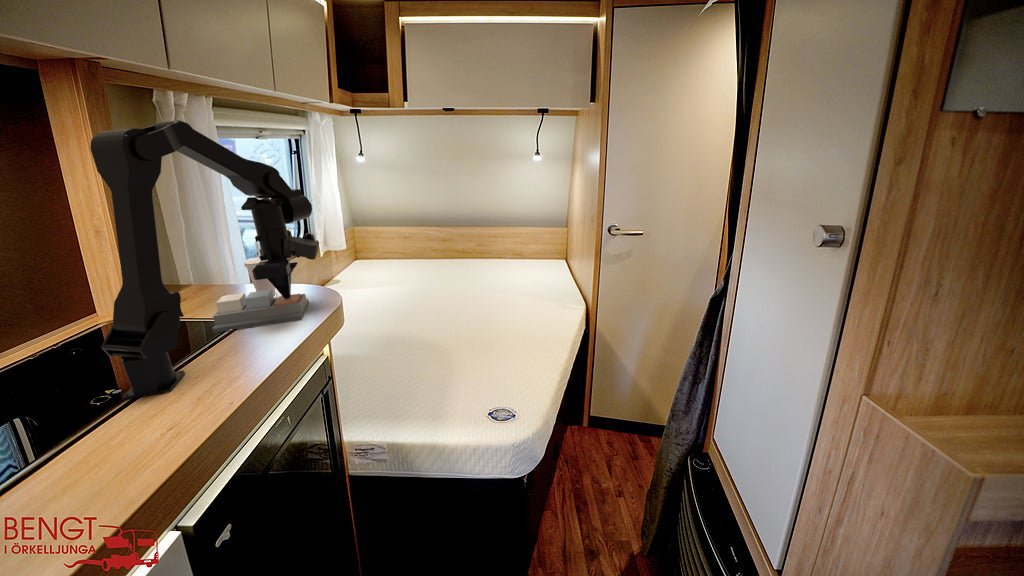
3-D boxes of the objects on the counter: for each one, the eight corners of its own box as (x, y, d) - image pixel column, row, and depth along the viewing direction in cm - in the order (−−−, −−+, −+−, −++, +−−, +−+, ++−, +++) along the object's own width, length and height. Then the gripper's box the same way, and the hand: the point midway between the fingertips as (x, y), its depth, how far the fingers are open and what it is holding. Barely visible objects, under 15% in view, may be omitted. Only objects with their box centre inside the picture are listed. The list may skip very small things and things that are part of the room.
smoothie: (287, 294, 117) (274, 240, 112) (262, 303, 112) (248, 246, 107) (272, 291, 120) (259, 238, 116) (248, 299, 115) (233, 244, 111)
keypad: (301, 319, 100) (298, 306, 99) (213, 333, 96) (209, 319, 95) (309, 303, 110) (306, 291, 109) (229, 314, 106) (226, 302, 105)
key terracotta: (299, 310, 102) (296, 299, 101) (277, 313, 101) (275, 302, 100) (302, 303, 106) (300, 293, 105) (281, 306, 105) (279, 296, 104)
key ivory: (242, 310, 99) (239, 299, 98) (219, 313, 98) (216, 302, 97) (247, 303, 103) (244, 293, 102) (225, 306, 102) (222, 296, 101)
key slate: (270, 306, 100) (267, 295, 100) (247, 309, 99) (244, 298, 99) (274, 300, 104) (271, 289, 104) (253, 303, 103) (250, 292, 103)
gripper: (305, 232, 91) (321, 306, 96) (317, 217, 108) (330, 281, 113) (243, 239, 89) (262, 315, 94) (265, 222, 106) (281, 287, 111)
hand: (287, 298), depth 103 cm, fingers closed, pressing on key terracotta
